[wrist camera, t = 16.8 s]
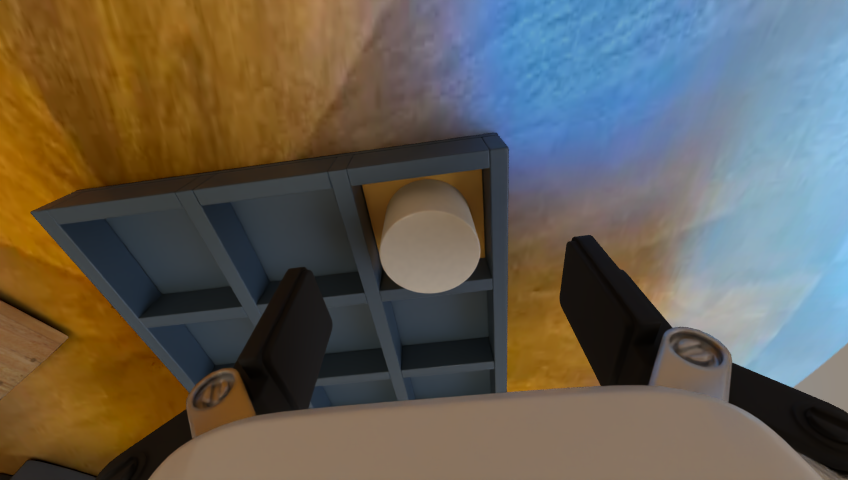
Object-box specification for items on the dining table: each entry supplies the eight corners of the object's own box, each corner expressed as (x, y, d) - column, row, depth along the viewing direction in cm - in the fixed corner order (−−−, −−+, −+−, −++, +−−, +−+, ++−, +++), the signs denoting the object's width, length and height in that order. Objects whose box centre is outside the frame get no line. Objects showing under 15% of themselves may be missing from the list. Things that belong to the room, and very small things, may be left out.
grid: (496, 132, 15) (509, 146, 13) (499, 394, 26) (506, 424, 24) (76, 190, 16) (28, 212, 14) (250, 417, 28) (237, 448, 26)
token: (467, 173, 16) (478, 203, 13) (471, 247, 18) (482, 288, 15) (377, 184, 16) (369, 217, 13) (393, 257, 18) (389, 298, 15)
